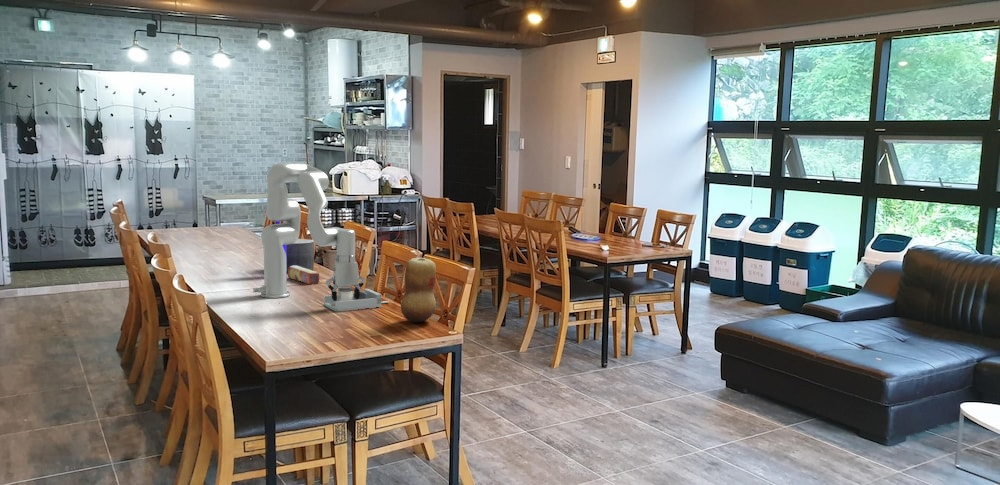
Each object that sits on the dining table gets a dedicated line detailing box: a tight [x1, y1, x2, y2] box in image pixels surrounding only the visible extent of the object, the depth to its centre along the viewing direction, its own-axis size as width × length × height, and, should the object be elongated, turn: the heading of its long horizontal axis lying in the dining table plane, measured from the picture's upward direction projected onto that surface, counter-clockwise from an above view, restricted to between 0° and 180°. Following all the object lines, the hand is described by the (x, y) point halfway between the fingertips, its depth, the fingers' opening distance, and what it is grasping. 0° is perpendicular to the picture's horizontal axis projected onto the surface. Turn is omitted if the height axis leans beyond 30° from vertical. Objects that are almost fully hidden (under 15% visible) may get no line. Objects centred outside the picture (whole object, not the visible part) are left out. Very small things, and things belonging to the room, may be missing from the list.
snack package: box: [287, 265, 320, 286], centre depth 375 cm, size 21×7×7 cm, turn 43°
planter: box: [286, 238, 315, 274], centre depth 403 cm, size 18×18×16 cm
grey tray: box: [323, 288, 382, 313], centre depth 322 cm, size 20×14×6 cm
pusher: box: [355, 289, 390, 304], centre depth 328 cm, size 13×11×6 cm
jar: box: [337, 286, 354, 301], centre depth 320 cm, size 6×6×8 cm
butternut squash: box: [400, 257, 437, 323], centre depth 297 cm, size 14×13×25 cm
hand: (345, 299), depth 321 cm, fingers open, 9 cm apart
